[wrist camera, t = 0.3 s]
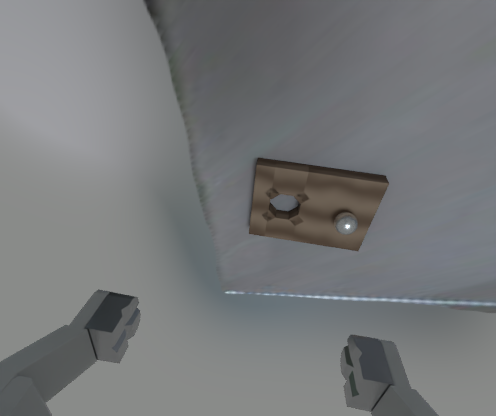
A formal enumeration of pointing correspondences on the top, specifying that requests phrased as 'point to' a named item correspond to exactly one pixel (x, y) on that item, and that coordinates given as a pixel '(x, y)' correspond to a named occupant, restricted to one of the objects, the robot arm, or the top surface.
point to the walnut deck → (314, 202)
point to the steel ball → (345, 223)
